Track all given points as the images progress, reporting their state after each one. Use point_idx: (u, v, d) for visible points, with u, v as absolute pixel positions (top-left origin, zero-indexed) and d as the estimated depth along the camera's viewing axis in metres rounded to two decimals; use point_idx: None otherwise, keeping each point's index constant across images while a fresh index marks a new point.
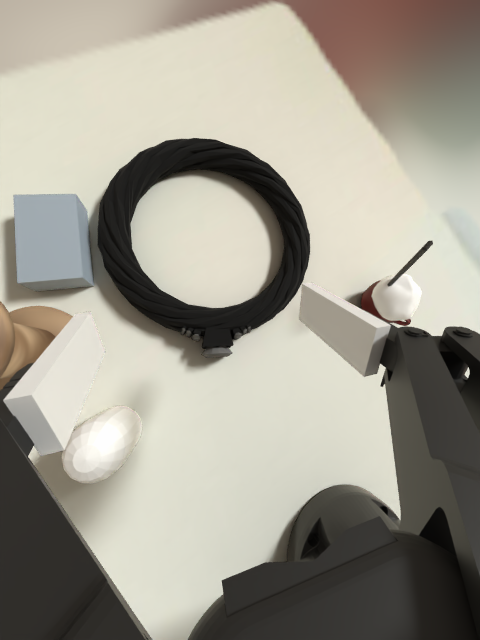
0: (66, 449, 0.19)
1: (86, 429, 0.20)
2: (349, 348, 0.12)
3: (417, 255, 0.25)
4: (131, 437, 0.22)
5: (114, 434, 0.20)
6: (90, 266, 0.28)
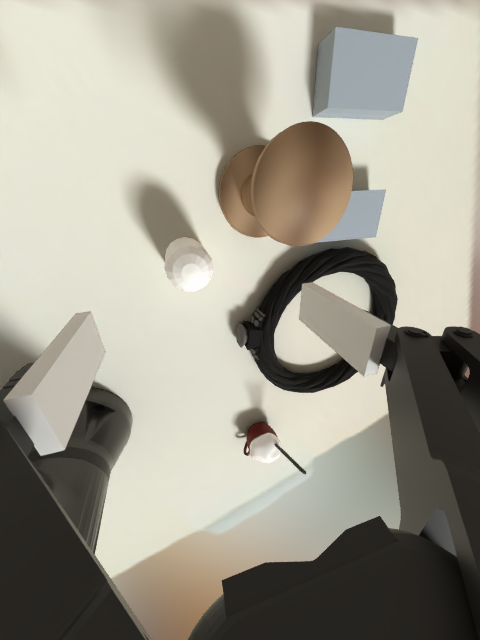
0: (197, 254, 0.24)
1: (209, 266, 0.25)
2: (349, 348, 0.12)
3: (297, 465, 0.40)
4: None
5: (203, 285, 0.26)
6: None
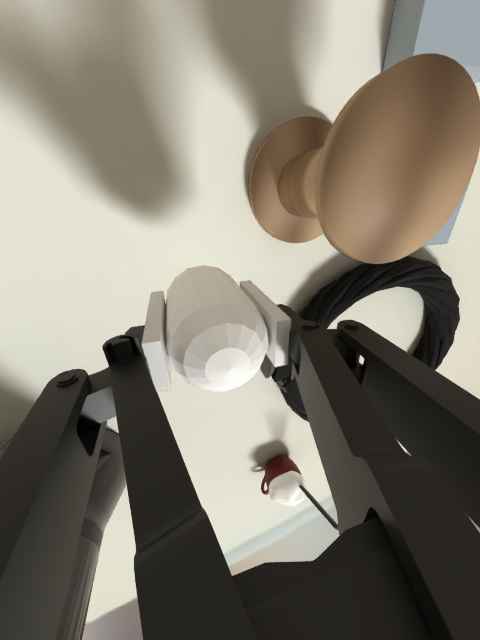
0: (242, 323, 0.10)
1: (264, 343, 0.11)
2: None
3: (330, 519, 0.33)
4: None
5: None
6: None
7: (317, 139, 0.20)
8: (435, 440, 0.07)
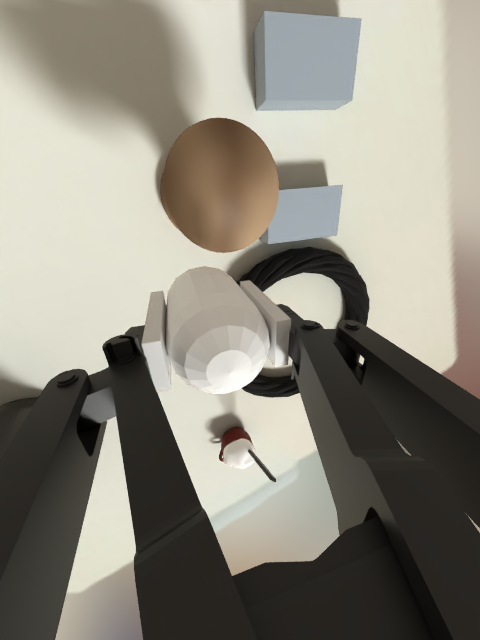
0: (243, 325, 0.10)
1: (266, 345, 0.11)
2: None
3: (267, 473, 0.39)
4: None
5: None
6: None
7: None
8: (435, 440, 0.07)
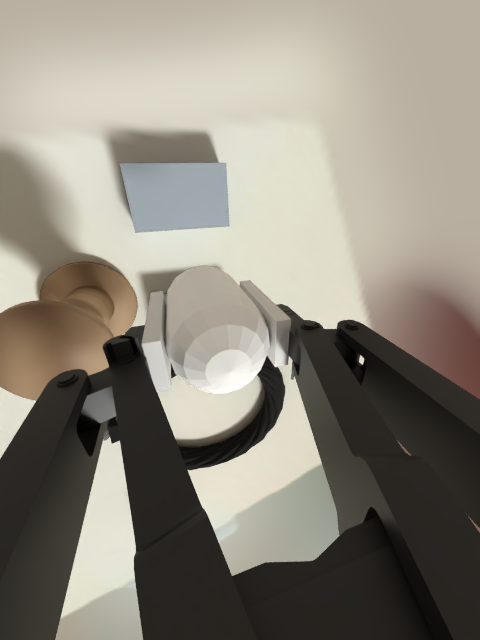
0: (243, 324, 0.10)
1: (265, 345, 0.11)
2: None
3: None
4: None
5: None
6: None
7: (91, 276, 0.27)
8: (435, 441, 0.07)
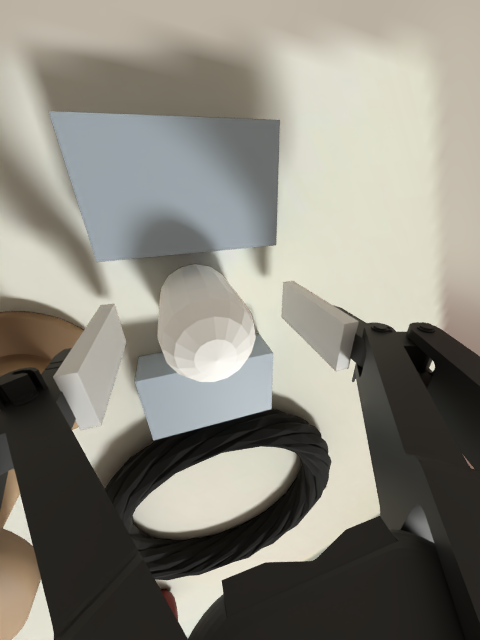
0: (229, 317, 0.11)
1: (251, 336, 0.12)
2: (323, 344, 0.12)
3: None
4: None
5: None
6: None
7: (21, 338, 0.14)
8: None
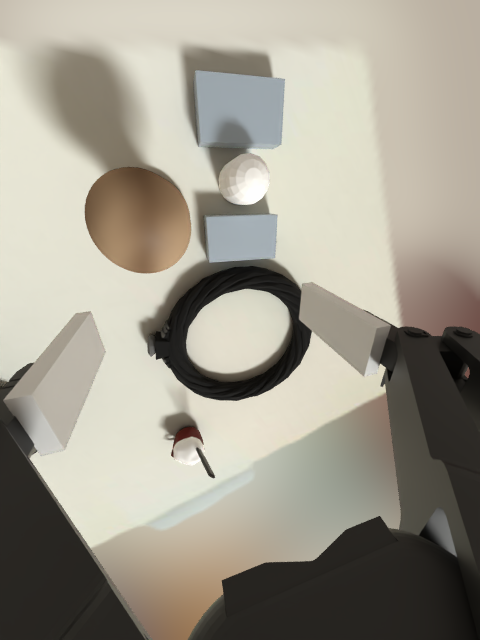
0: (259, 161, 0.26)
1: (268, 176, 0.27)
2: (349, 348, 0.12)
3: (207, 470, 0.42)
4: (247, 204, 0.29)
5: (259, 197, 0.28)
6: None
7: None
8: None
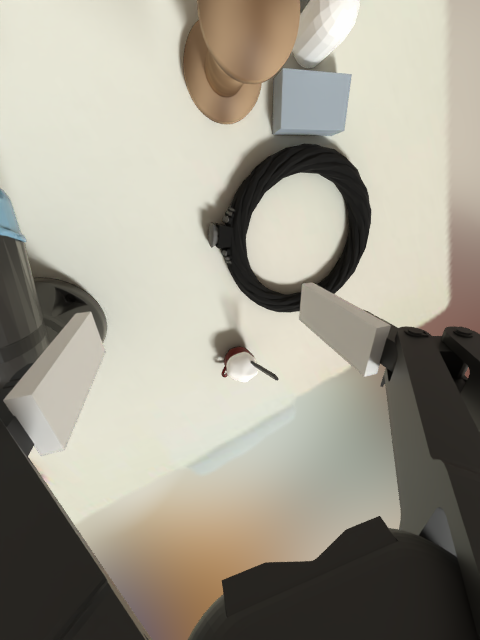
0: None
1: None
2: (349, 348, 0.12)
3: (270, 372, 0.40)
4: (329, 47, 0.28)
5: (348, 28, 0.26)
6: (287, 133, 0.35)
7: None
8: None
